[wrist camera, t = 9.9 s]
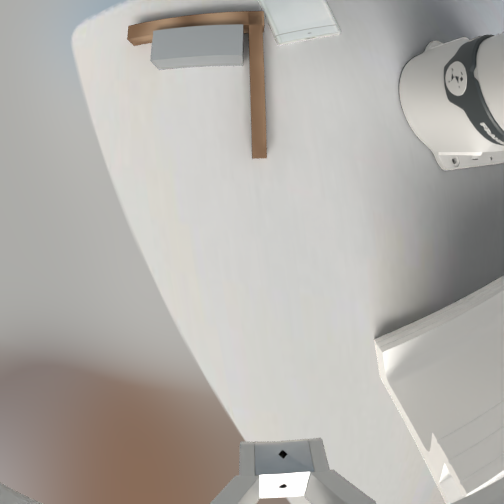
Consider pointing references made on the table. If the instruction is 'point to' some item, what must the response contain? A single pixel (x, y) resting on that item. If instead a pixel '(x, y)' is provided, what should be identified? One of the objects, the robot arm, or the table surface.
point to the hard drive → (299, 20)
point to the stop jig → (255, 28)
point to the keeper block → (198, 46)
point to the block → (452, 389)
